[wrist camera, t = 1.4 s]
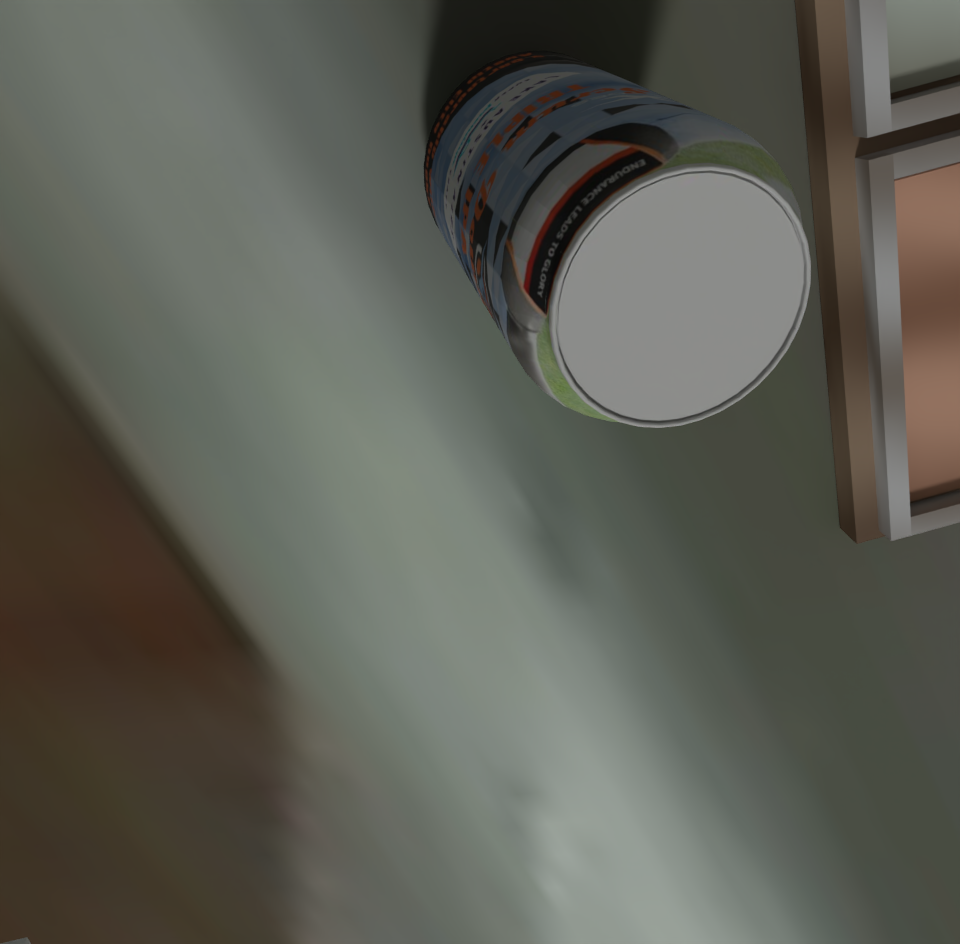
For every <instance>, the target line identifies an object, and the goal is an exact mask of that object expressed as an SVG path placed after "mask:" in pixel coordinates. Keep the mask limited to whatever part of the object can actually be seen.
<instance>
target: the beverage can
mask: <svg viewBox="0 0 960 944" xmlns="http://www.w3.org/2000/svg"><path fill="white" fill-rule="evenodd" d="M424 185H425V191H426V196H427V201H428V205H429V208H430V210H431V213H432V215H433V218H434V220H435V223H436V225H437V226H438V228H439V230H440V231H441V233H442V235H443V236H444V238H445V240H446V241H447V243H448V245H449V246H450V248H451V250H452V251H453V253H454V255H455V256H456V258H457V260H458V261H459V263H460V265H461V266H462V268H463V270H464V271H465V273H466V275H467V276H468V278H469V280H470V281H471V283H472V285H473V286H474V288H475V290H476V291H477V293H478V295H479V296H480V298H481V300H482V301H483V303H484V305H485V306H486V308H487V310H488V311H489V313H490V315H491V316H492V318H493V320H494V321H495V323H496V325H497V326H498V328H499V330H500V331H501V333H502V335H503V336H504V338H505V339H506V341H507V343H508V344H509V346H510V348H511V349H512V351H513V353H514V354H515V356H516V358H517V359H518V361H519V362H520V364H521V366H522V367H523V369H524V370H525V372H526V373H527V374H528V375H529V377H530V378H531V379H532V380H533V381H534V382H535V383H536V384H537V385H538V386H539V387H540V388H541V389H542V390H543V391H544V392H545V393H547V394H548V395H550V396H551V397H552V398H554V399H555V400H557V401H558V402H559V403H561V404H562V405H564V406H566V407H568V408H570V409H573V410H575V411H577V412H579V413H582V414H584V415H586V416H590V417H594V418H598V419H603V420H607V421H612V422H622V423H626V424H630V425H634V426H638V427H655V428H661V427H670V426H680V425H684V424H687V423H691V422H695V421H699V420H702V419H704V418H706V417H709V416H711V415H713V414H716V413H718V412H720V411H722V410H724V409H726V408H727V407H729V406H731V405H732V404H734V403H735V402H737V401H739V400H740V399H742V398H743V397H744V396H745V395H747V394H748V393H749V392H750V391H752V390H753V389H754V388H755V387H756V386H758V385H759V384H760V383H761V382H762V381H763V380H764V378H765V377H766V376H767V375H768V374H769V373H770V372H771V371H772V370H773V369H774V368H775V366H776V365H777V364H778V362H779V361H780V359H781V358H782V357H783V355H784V354H785V352H786V351H787V350H788V348H789V346H790V344H791V342H792V340H793V338H794V337H795V335H796V333H797V331H798V329H799V326H800V323H801V321H802V318H803V315H804V312H805V309H806V306H807V300H808V295H809V290H810V283H811V260H810V253H809V247H808V241H807V238H806V236H805V233H804V230H803V226H802V220H801V214H800V209H799V206H798V203H797V201H796V198H795V195H794V192H793V190H792V187H791V184H790V182H789V181H788V179H787V178H786V176H785V174H784V173H783V171H782V170H781V168H780V166H779V165H778V163H777V161H776V160H775V159H774V158H773V157H772V156H771V155H770V154H769V153H768V152H767V151H766V150H765V149H764V148H763V147H762V146H761V145H760V144H759V143H758V142H757V141H756V140H755V139H753V138H752V137H750V136H749V135H747V134H745V133H744V132H742V131H741V130H739V129H738V128H736V127H735V126H733V125H731V124H728V123H726V122H724V121H721V120H719V119H717V118H714V117H712V116H710V115H707V114H705V113H702V112H700V111H698V110H695V109H693V108H691V107H688V106H686V105H684V104H681V103H679V102H677V101H674V100H672V99H670V98H667V97H665V96H663V95H660V94H658V93H656V92H653V91H651V90H649V89H646V88H644V87H641V86H639V85H637V84H634V83H632V82H630V81H627V80H625V79H623V78H620V77H618V76H616V75H613V74H611V73H609V72H606V71H604V70H602V69H599V68H597V67H595V66H592V65H590V64H588V63H585V62H583V61H580V60H578V59H575V58H573V57H570V56H567V55H565V54H560V53H554V52H548V51H527V52H521V53H517V54H512V55H508V56H505V57H502V58H500V59H498V60H495V61H493V62H491V63H489V64H486V65H485V66H483V67H482V68H481V69H479V70H478V71H476V72H475V73H473V74H472V75H470V76H469V77H468V78H467V79H466V80H465V81H464V82H463V83H462V84H461V85H460V86H459V87H458V88H457V89H455V90H454V92H453V93H452V95H451V96H450V97H449V99H448V100H447V101H446V103H445V104H444V106H443V107H442V109H441V111H440V113H439V115H438V117H437V119H436V121H435V123H434V125H433V127H432V130H431V133H430V137H429V140H428V143H427V147H426V154H425V162H424Z"/></svg>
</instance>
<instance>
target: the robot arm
mask: <svg viewBox="0 0 960 944" xmlns="http://www.w3.org/2000/svg"><path fill="white" fill-rule="evenodd" d="M2 944H31V943H30V941H29V940H28V938H27V937H26V938H22V939H18V940H14V941H10V942H6V943H2Z"/></svg>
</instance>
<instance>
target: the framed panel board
mask: <svg viewBox="0 0 960 944" xmlns="http://www.w3.org/2000/svg"><path fill="white" fill-rule="evenodd" d="M795 7H796V19H797V30H798V42H799V54H800V65H801V77H802V89H803V100H804V112H805V124H806V135H807V147H808V159H809V170H810V182H811V194H812V205H813V217H814V229H815V240H816V252H817V264H818V275H819V287H820V299H821V310H822V322H823V334H824V345H825V357H826V369H827V380H828V392H829V404H830V415H831V427H832V439H833V450H834V462H835V474H836V485H837V497H838V509H839V520H840V528H841V529H842V530H843V531H844V532H845V533H846V534H847V535H848V536H849V537H850V538H851V539H852V540H853V541H854V542H856V543H857V544H858V543H862V542H865V541H869V540H872V539H876V538H880V537H883V536H886V537H887V538H888V539H890V540H891V541H893V540H897V539H900V538H904V537H908V536H911V535H915V534H919V533H922V532H926V531H929V530H933V529H937V528H940V527H944V526H948V525H951V524H955V523H958V522H960V0H795Z"/></svg>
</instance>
